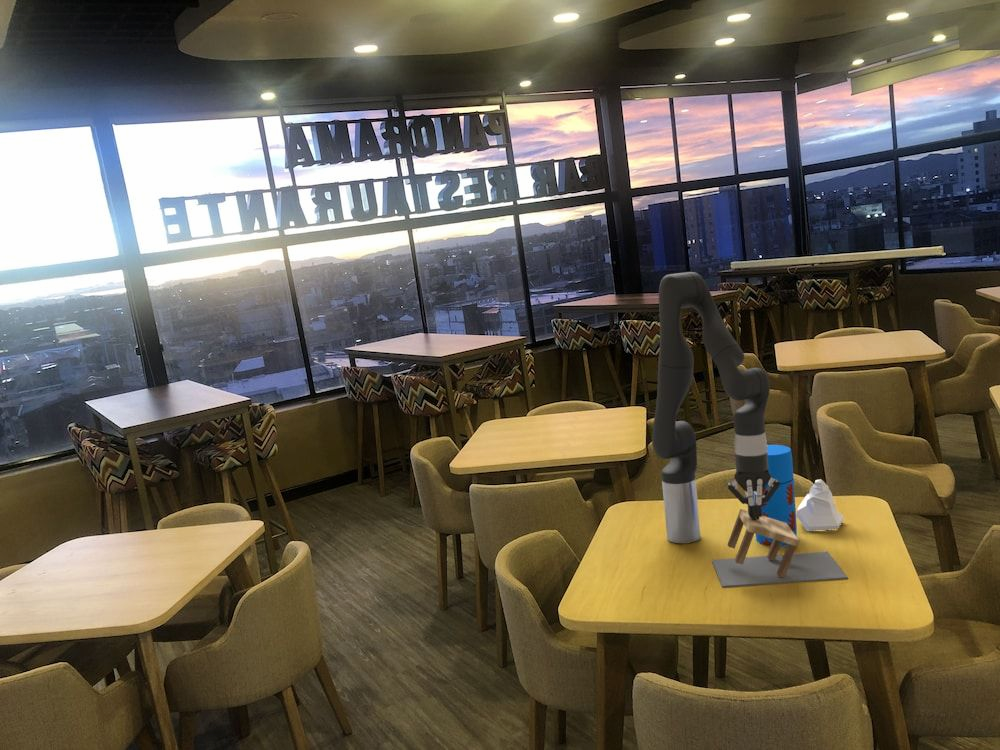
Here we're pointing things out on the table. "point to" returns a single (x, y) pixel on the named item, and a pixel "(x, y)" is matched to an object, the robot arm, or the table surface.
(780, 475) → the thermos
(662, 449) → the robot arm
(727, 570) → the mat
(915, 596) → the table surface
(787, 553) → the stool
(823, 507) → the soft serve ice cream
